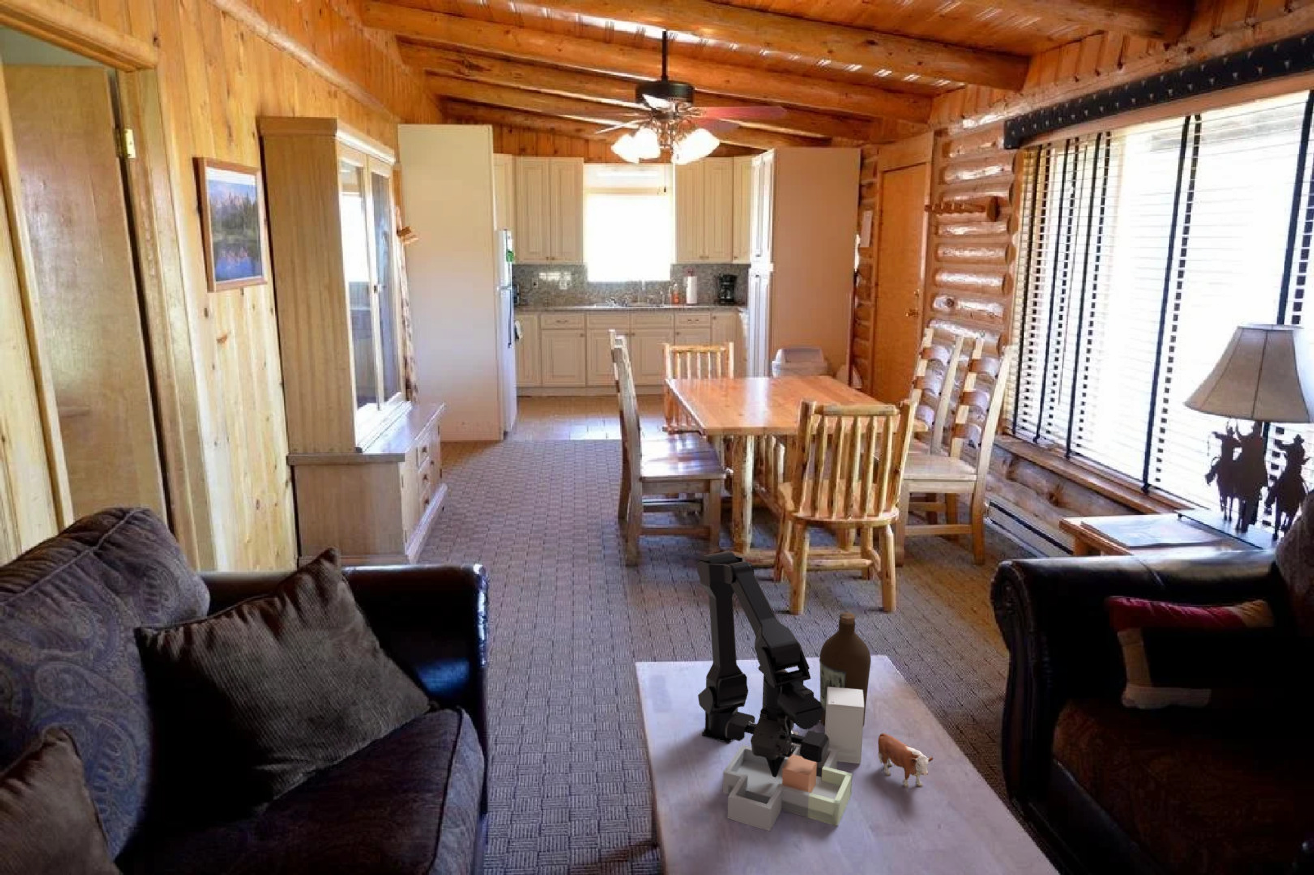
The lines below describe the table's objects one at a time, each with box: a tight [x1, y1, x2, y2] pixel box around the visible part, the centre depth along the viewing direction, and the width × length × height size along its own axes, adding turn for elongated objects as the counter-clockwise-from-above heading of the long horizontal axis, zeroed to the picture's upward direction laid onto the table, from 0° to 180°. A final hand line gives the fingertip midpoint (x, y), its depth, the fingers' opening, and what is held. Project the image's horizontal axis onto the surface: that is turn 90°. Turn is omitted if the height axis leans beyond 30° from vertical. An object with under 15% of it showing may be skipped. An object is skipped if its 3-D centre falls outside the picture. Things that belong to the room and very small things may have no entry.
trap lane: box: [722, 744, 853, 832], centre depth 165 cm, size 22×23×4 cm
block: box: [782, 754, 817, 793], centre depth 163 cm, size 5×5×5 cm
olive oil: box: [818, 612, 872, 728], centre depth 186 cm, size 11×11×25 cm
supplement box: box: [824, 687, 864, 765], centre depth 177 cm, size 7×7×13 cm
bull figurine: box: [877, 732, 934, 788], centre depth 168 cm, size 4×13×8 cm, turn 27°
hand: (775, 776), depth 165 cm, fingers closed
